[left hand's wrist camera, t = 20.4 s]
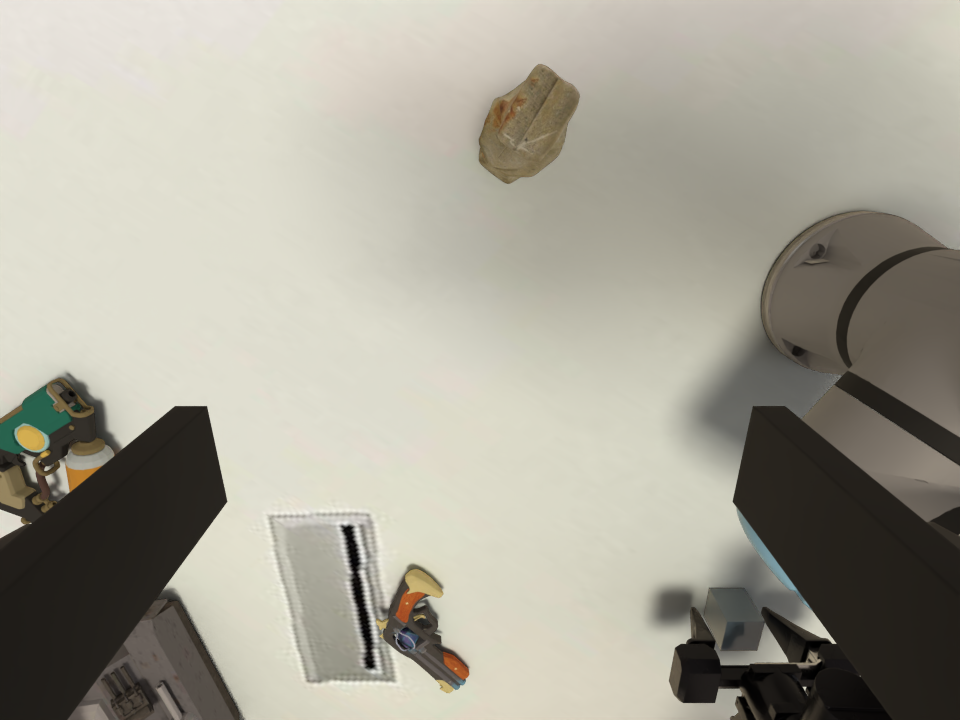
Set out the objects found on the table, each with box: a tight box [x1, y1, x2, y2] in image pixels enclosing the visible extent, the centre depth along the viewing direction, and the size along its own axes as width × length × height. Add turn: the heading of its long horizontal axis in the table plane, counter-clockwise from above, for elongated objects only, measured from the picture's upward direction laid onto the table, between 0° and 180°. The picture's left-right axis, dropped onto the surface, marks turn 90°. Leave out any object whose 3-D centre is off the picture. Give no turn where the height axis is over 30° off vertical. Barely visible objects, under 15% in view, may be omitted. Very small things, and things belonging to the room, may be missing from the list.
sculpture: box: [479, 64, 580, 184], centre depth 38 cm, size 6×7×15 cm
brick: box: [704, 588, 765, 651], centre depth 62 cm, size 5×4×5 cm
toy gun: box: [376, 569, 469, 693], centre depth 65 cm, size 3×19×10 cm
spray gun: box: [0, 378, 115, 524], centre depth 55 cm, size 4×17×15 cm
